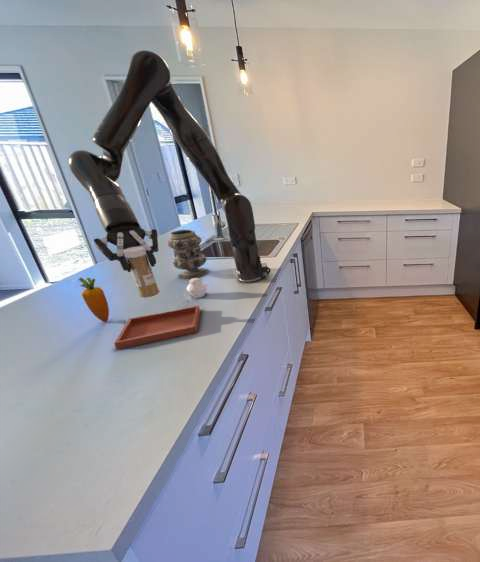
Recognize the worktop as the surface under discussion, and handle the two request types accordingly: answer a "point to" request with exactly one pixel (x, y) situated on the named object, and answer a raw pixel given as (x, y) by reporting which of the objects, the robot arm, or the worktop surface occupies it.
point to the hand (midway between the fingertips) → (141, 267)
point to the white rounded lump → (196, 288)
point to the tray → (158, 327)
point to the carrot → (95, 299)
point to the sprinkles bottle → (141, 271)
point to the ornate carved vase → (187, 253)
